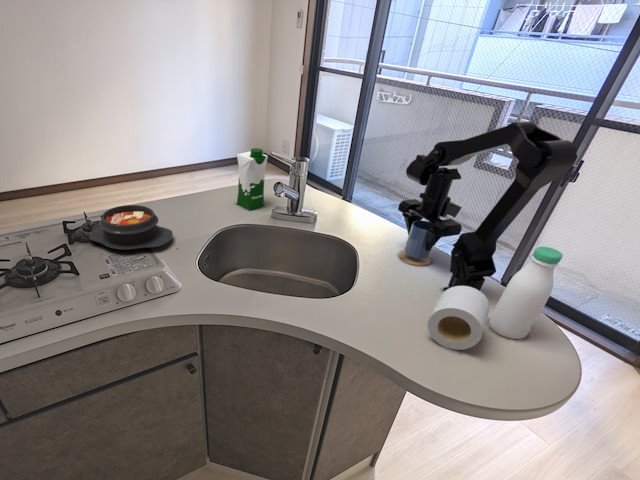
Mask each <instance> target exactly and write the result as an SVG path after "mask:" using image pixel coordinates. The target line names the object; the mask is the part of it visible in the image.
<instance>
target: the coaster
mask: <svg viewBox="0 0 640 480" xmlns="http://www.w3.org/2000/svg"><path fill="white" fill-rule="evenodd" d="M398 256H399V259H400V260H401V261H402V262H404V263H406V264H408V265H411V266H415V267H417V266H418V267H425V266H428V265H430V263H431V259H432V258H431V257H430V256H429V257H427V258H414V257H411V256H409V255H407V254H406V253H405V251H404V250H402V251H400V252H399V255H398Z"/></svg>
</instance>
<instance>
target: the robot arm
mask: <svg viewBox="0 0 640 480" xmlns="http://www.w3.org/2000/svg"><path fill="white" fill-rule="evenodd" d="M506 147H509V148H510V152H511V154H512V156H513V157H514V158H515V159H517V160H518V162H517V163H516V166H515V172H514V173H515V175H514V179H513V181H512V182H511V183H510V185H509V186H508V187H507V189H506V190H505V191H504V193H503V194H502V195H501V197H500V198H499V200H498V201H497V202H496V203H495V205H494V206H493V207H492V209H491V210H490V212H489V213H487V215H486V217H485V218H484V219H483V220H482V222H481V223H480V224H479V226H478V227H477V229H476V230H475V231H469V232H462V230H463V226H462V224H461V223H459V222H457V221H456V220H454V219H452V218H456V217H457V216H458V214H459V213H460V211H461V210H462V208H463V207H462V206H461V205H459V204H457V203H455V202H452V201H451V200H452V199H451V197H450V196H449V193H450V190H451V187H452V185H453V182H454V181H455V180H461V179H462V176H461V173H460V172H459V169H458V168H448V167H451V166H460V165H462V164H464V163H466V162H468V161H470V160H471V159H472V158H473V157H475V156H477V155H481V154H484V153H488V152H492V151H495V150H501V149H504V148H506ZM577 153H578V152H577V147H576V145H575V144H574V143H573V141H570V140H568V139H563V138H561V137H560V136H558V135H556V134H554V133H551V132H549V131H547V130H545V129H543V128H541V127H540V126H538V125H537V124H535V123H534V122H533V121H515V122H510V123H509V124H508V125H505V126H502V127H499V128H496V129H493V130H490V131H487V132H483V133H481V134H478V135H475V136H471V137H468V138H465V139H459V140H447V141H438V142H436V144H434V146H433V148H432V150H431V151H430V152H429V153H428V154H427V155H425V154H416V156H415V159H413V160H412V161H411V162H410V163H409V164H408V166H407V168H406V170H405V174H406V177H407V178H408V179H410V180H411V181H413V182H415V183H417V184H419V185H421V186H424V187H425V189H424V192H420V193H419V198H421V200H419V199H416V198H414V199H413V198H411V199H405V200H402V201H401V202H400V203H398V208H397V210H398V211H399V212H400V213H401V215H402V217H403V219H404V222H405V223H404V224H405V227H406V230H407V235H408V236H409V233H410V230H411V226H412V223H413V222H414V221H419V220H422V221H423V219H424V220H425V221H429V222H431V223H433V227H432V229H431V230H428V231H427V240H426V251H430V250H431V251H432V249H433V248H434V246H436V244H437V243H438V242H439V241H440V239H442V238H447V237H454V236H458V238H457V240H456V241H455V242H454V243H453V244H452V249H451V252H450V267H449V272H450V273H451V277H450V279H449V282H448V284H447V286H446V287H443V289H442V290H443V292H444V291H446V290H447V289H449V288H451V287H455V286H469V287H472V288H475V289H477V290H479V291H480V292H481V291H482V287H483V285H484V284H485V281H486V277H487V278H489V277H492V276H494V274H496V272H497V268H496V265H495V261H494V258H493V256H494V254H495V253H496V251H497V242H498V240H499V239H500V237H501V236H502V235H503V234H504V232H505V231H506V230H507V228H509V226H511V224H512V223H513V222H514V220H516V218H517V217H518V216H519V214H520V213H521V212H522V211H523V210H524V209H525V207H526V206H527V205H528V204H529V202H530V201H531V200H532V199H533V198H534V197H535V196H536V194H537V193H538V192H539V190H541V189H542V188H543V187H545V186H547V185H548V184H550V183H552V182H553V181H555V180H557V179H558V178H560V177H561V176H562V175H563V174H564V173H566V172H567V171H568V170H569V169H570V168H571V167H572V166H574V164H575V162H576V161H577V159H578V154H577ZM448 216H451V217H452V218H448V219H447V217H448ZM441 217H442V218H446V219H442V218H441ZM431 248H432V249H431Z"/></svg>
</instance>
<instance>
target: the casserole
mask: <svg viewBox="0 0 640 480" xmlns="http://www.w3.org/2000/svg"><path fill="white" fill-rule="evenodd" d="M158 223H159V217H158V216H157V215H156V213H155V212H154V210H153V209H151V208H150V207H147V206H144V205H139V204H127V205H126V204H125V205H119V206H115V207H112V208H110V209H108V210H106V211H104V212H103V213H102V215H101V218H100V220H99V222H98V226H100V227H98V226H96V227H94V228H93V229H92V230H91V232H90V233H89V235H88V239H89V240H90V241H93V242H95V243H99V244H101V245H103V246H105V247H107V248H110V249H114V250H123V251H124V250H126V251H129V250H130V251H131V250H139V249H145V248H148V249H150V248H152V249H153V248H159V247H162V246H164V245H166V244H167V243H169V242H171V240H172V238H173V231H172V230H171V229H169V228H166V227H163V226H159V225H158Z"/></svg>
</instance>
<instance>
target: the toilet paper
mask: <svg viewBox="0 0 640 480" xmlns="http://www.w3.org/2000/svg"><path fill="white" fill-rule="evenodd" d="M490 309H491V306H490V302H489V299H488V298H487V296H486V295H485V294H484V293H483V292H482V291H481V290H480V291H479V290H477V289H475V288H472V287H469V286H455V287H451V288H449V289H447V290H446V291H444V290H443V292H442V294H441V295H440V297H439V298H438V301H437V302H436V304H435V306H434V308H433V310H432V313H431V314H430V317H429V319H428V321H427V330H428V333H429V335H430V337H431V338H432V339H433V340H434V341H435V342H436V343H437V344H439V345H440V346H442V347H444V348H447V349H451V350H458V351H460V350H461V351H463V350H468V349H471V348H472V347H474V346H476V345H477V344H478V343H479V342H480V341H481V339H482V336H483V333H484V330H485V327H486V323H487V320H488V317H489V313H490Z"/></svg>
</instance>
